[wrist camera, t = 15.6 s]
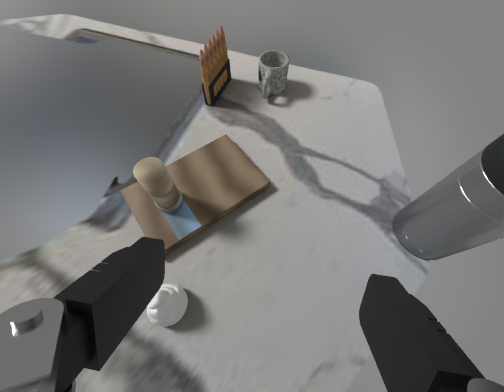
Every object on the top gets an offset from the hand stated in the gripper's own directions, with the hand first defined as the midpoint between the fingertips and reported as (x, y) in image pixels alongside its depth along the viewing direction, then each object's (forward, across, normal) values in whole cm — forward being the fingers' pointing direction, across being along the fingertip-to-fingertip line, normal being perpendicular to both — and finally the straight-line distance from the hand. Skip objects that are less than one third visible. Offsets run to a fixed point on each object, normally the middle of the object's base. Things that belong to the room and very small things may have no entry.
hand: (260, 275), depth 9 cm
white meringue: (+19, +12, +21) cm, 30 cm away
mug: (+53, +4, -13) cm, 55 cm away
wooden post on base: (+28, +17, +8) cm, 34 cm away
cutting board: (+32, +13, +7) cm, 35 cm away
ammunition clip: (+52, +16, -12) cm, 55 cm away
